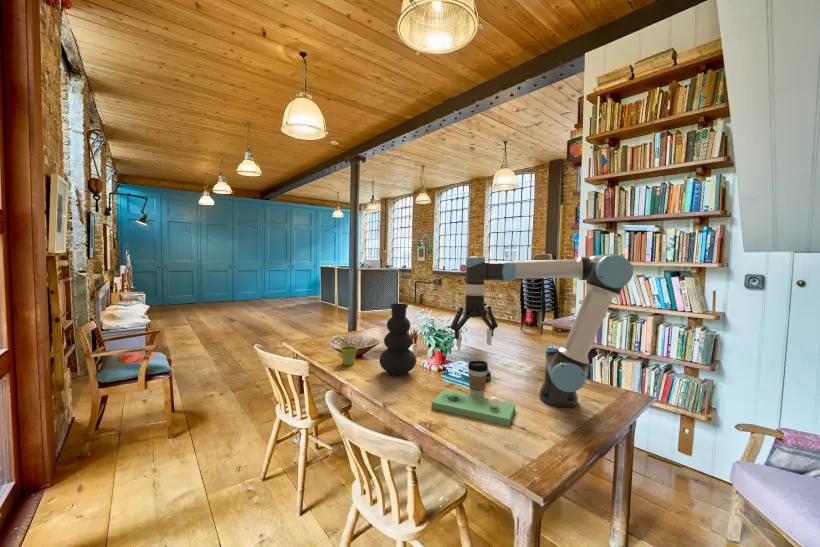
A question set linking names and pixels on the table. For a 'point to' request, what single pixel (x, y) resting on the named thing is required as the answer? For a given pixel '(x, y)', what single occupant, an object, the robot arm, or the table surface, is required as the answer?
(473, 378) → the coffee cup
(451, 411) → the block
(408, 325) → the vase
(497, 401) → the ball
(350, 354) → the plant pot
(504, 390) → the table surface
